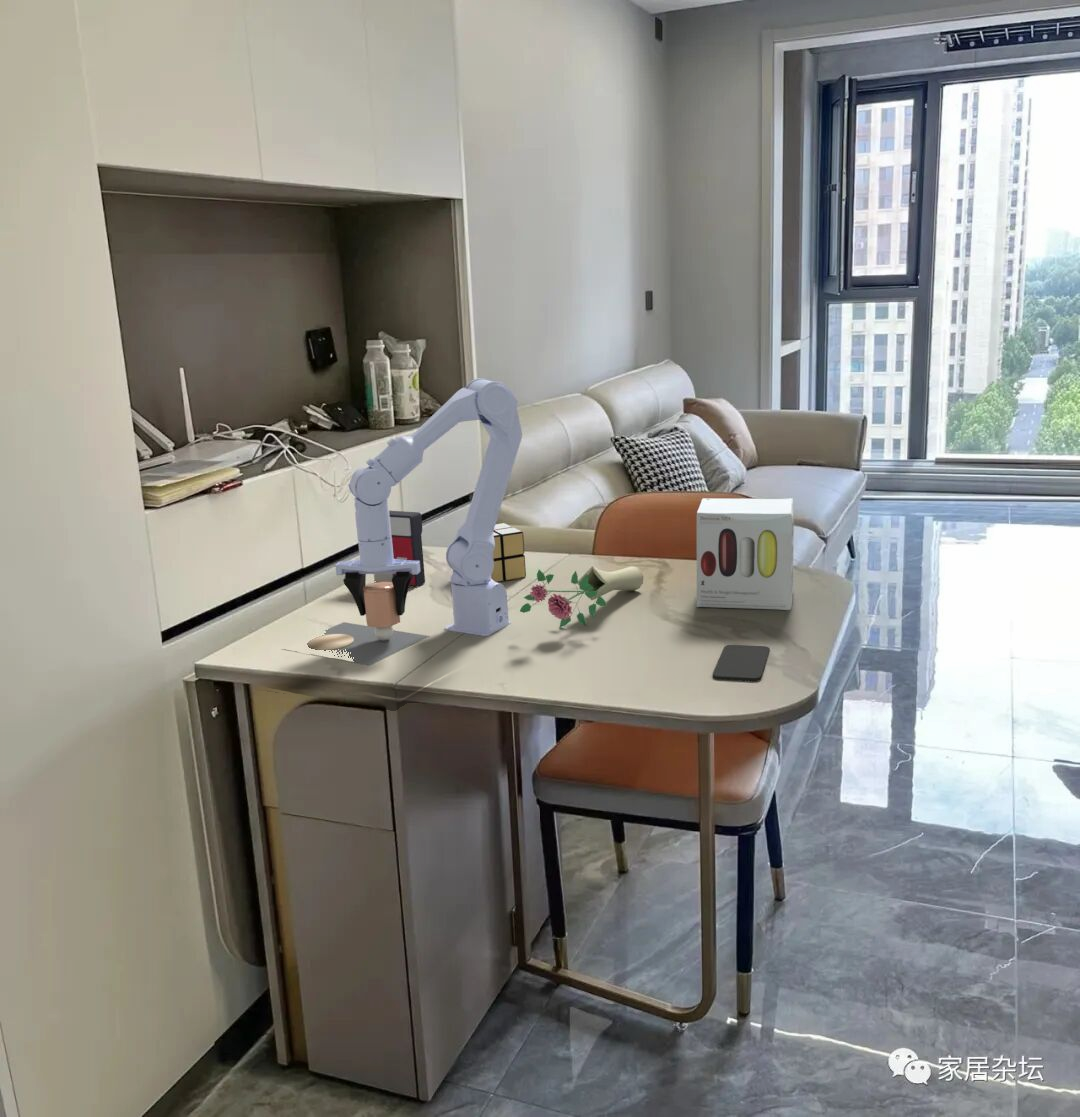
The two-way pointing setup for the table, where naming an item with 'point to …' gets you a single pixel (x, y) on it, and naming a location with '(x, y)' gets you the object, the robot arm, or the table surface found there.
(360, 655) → the placemat
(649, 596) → the table surface
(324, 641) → the coaster
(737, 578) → the supplement box
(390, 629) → the ball
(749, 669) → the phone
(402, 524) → the grey and red box
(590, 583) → the flower vase
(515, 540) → the puzzle cube
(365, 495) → the robot arm
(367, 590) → the cup
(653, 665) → the table surface
